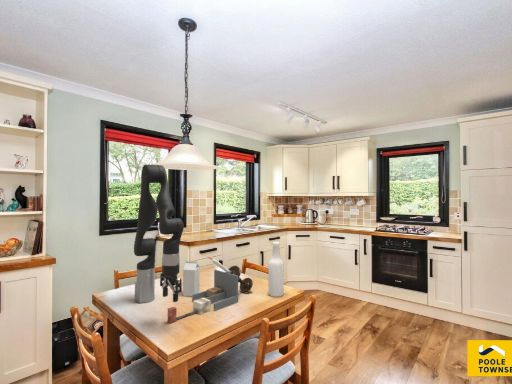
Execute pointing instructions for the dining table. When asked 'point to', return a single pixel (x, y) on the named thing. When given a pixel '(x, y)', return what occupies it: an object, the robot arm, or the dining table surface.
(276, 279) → the alcohol
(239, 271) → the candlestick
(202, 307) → the corded block
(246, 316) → the dining table surface
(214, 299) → the lane rack
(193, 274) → the milk carton
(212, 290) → the walnut block
